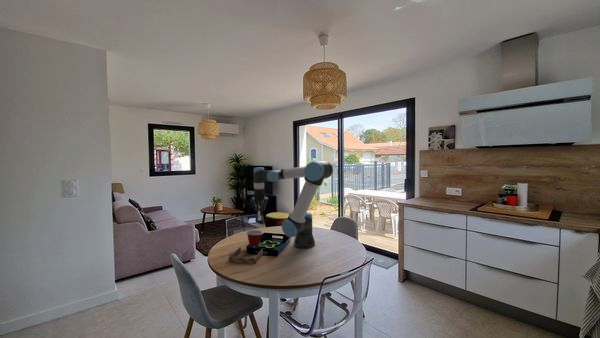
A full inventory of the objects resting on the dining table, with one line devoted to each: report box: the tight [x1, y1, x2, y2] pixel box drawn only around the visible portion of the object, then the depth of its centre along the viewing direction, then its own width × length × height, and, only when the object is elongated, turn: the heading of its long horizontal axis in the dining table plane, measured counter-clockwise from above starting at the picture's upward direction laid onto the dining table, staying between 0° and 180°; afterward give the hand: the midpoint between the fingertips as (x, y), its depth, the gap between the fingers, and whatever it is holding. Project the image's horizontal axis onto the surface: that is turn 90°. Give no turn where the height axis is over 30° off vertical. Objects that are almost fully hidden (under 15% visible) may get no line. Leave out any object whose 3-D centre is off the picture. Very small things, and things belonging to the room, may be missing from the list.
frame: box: [228, 246, 264, 264], centre depth 155 cm, size 17×16×3 cm
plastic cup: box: [246, 229, 263, 247], centre depth 170 cm, size 11×11×12 cm
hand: (259, 220), depth 181 cm, fingers closed
